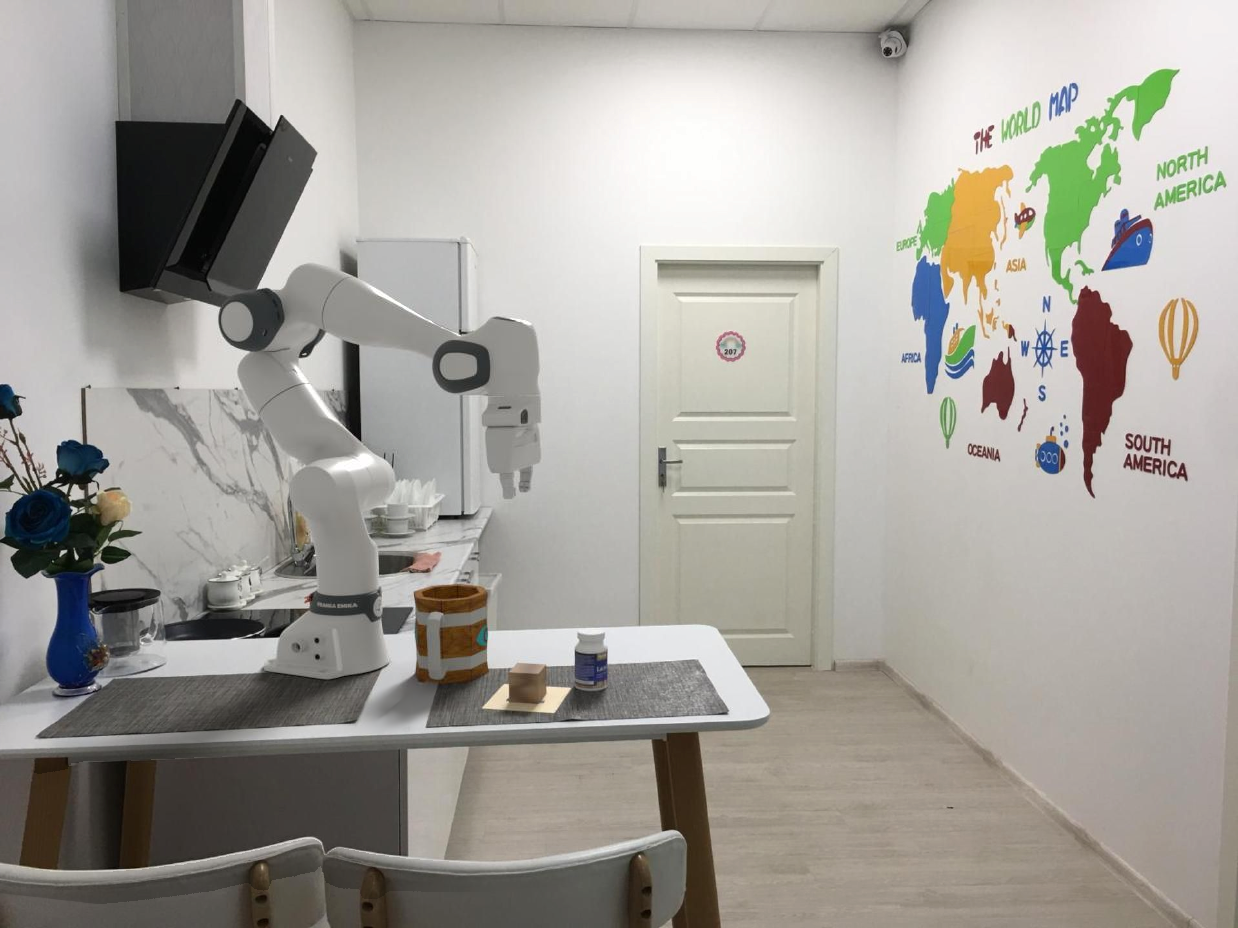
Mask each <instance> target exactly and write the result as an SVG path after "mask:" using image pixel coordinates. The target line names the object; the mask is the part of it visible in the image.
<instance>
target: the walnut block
mask: <svg viewBox="0 0 1238 928" xmlns="http://www.w3.org/2000/svg"><path fill="white" fill-rule="evenodd" d="M508 684H509V702H517V703H533V704H539V703H540V701H541V700H542V699H543V698H544V696H545V695H546V694H547V692H546V686H547V664H546V663H526V662H524V663H523V662H517V663H516V664H515V665H514V666H513V667H512V668H510V670H509V671H508Z"/></svg>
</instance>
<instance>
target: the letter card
mask: <svg viewBox="0 0 1238 928" xmlns="http://www.w3.org/2000/svg"><path fill="white" fill-rule="evenodd" d="M571 690H572V687H566V686H565V687H563V686H562V687H561V686H560V687H559V686H547V685H546V692H547V694H546V695H545V696H544V698H543V699H542V700H541V701H540V703H539V704H533V703H517V702H509V683H503V685H502V686H500V687H499V688H498V690H497V691H496V692H495V693H494V694H493V695H492V696H491V697H490V699H489V700H487V702H486V703H485V704H484V705H483V706H482V707H481V709H484V710H499V711H500V710H501V711H512V712H513V711H514V712H526V713H528V712H529V713H530V712H532V713H542V714H543V713H544V714H545V713H547V714H555V713H556V711H557V710H558V709H559V708H560V706H561V705H562V703H563V701H564V700H565V698H566V697H567V695H568V694H569V693H570V691H571Z"/></svg>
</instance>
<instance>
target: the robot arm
mask: <svg viewBox="0 0 1238 928" xmlns="http://www.w3.org/2000/svg"><path fill="white" fill-rule="evenodd" d="M217 316H218V317H217V319H218V320H217V323H218V328H219V330H220V333H221V335H222V337H223V338H224V340H225V341H226V342H227V343H228V344H229V345H230V346H231V347H234V348H236V349H238V350H241V351H246V352H247V354H245V356H243V357H242V359H240V361H239V363H238V365H237V370H236V371H237V376H238V377H237V378H238V379H239V382H240V385H241V387H242V389H243V391H244V393H245V396H246V397H247V400H248V401H249V402H250V405H251V406H252V407H253V409H254V411H255V412H256V414H257V416H258V418H259V419H260V420H261V421H262V423H263V424H264V425H265V427H266V429H267V431H268V432H269V433H270V434H271V435H272V437H273V439H274V440H275V441H276V443H277V444H278V446H279V447H280V449H281V450H282V451H283V452H284V453H286V454H287V455H289V456H290V457H292V458H295V459H296V460H298V461H299V462H300V463H302V464H303V465H304V467H302V468H301V469H299V470H298V471H297V472H296V473H295V474H294V475H293V477H292V478H291V481H290V484H289V498H290V499H289V500H290V502H291V505H292V507H293V508H294V509H295V511H296V512H297V513H298V514H299V515H300V516H301V517H302V518H303V519H304V521H305V523H306V524H307V527H308V530H309V533H310V535H311V539H312V543H313V547H314V553H315V554H314V555H315V566H316V590H314V591H313V592H311V593H309V594H308V595H307V596H305V597H303V599H305V600H304V602H303V603H304V604H307V603H309V607H308V610H307V611H306V612H305V613H303V614H302V615H301V616H300V617H298V618H297V619H296V620H295V621H293V622H292V623H291V624H289V626H287V627H286V628H285V629H284V630H283V631H282V632H281V634H280V636H279V638H278V641H277V647H276V653H275V654H273V655H272V656H270V657H269V658H267V659H266V660H265V661H264V665H263V670H264V671H266V672H271V673H280V674H286V675H293V676H298V677H299V676H301V677H307V678H313V679H314V678H315V679H320V680H332V679H337V678H340V677H344V676H350V675H358V674H363V673H367V672H372V671H375V670H378V669H380V668H383V667H385V666H386V665H388V664H389V663H390V661H391V657H390V654H389V652H388V649H387V645H386V642H385V641H386V640H385V636H384V630H383V625H382V624H383V623H382V617H383V591H382V590H383V589H382V587H381V586H380V574H379V573H380V571H379V570H380V567H379V548H378V545H377V543H376V542H375V541H374V540H373V539H372V537H371V536H370V534H369V532H368V529H367V528H368V527H367V525H366V521H365V517H364V512H367V511H368V512H369V511H371V510H374V509H376V508H377V507H379V506H380V505H382V504H384V502H386V501H388V499H389V498H390V497H391V496H392V495H393V493H394V491H395V488H396V482H397V481H396V473H395V470H394V468H393V467H392V464H390V463H389V462H388V461H387V460H386V459H385V458H383V457H382V456H379V455H377V454H376V453H374V452H373V451H371V449H368V447H366V445H365V444H363V443H362V441H360V440H359V439H358V438H357V437H356V436H354V434H352V432H350V431H349V429H347V428H346V427H345V426H344V425H343V424H342V423H341V422H340V421H339V419H338V418H337V417H336V416H335V415H334V413H333V412H332V411H331V409H330V408H329V407H328V405H327V403H325V400H323V398H322V397H321V396H320V394H319V393H318V391H317V390H316V389H315V387H314V385H312V383H311V381H309V379H308V378H307V376H306V375H305V373H304V371H303V370H302V369H301V367H300V363H299V359H305V358H308V357H309V356H311V354H312V353H313V351H314V349H315V347H316V346H317V345H318V344H319V343H320V342H321V341H322V340H323V338H324V337H325V336H326V333H328V334H329V335H331V336H333V337H335V338H338V339H339V340H342V341H345V342H348V343H351V344H355V345H359V346H363V347H368V348H369V347H370V348H371V347H372V348H383V349H394V350H404V351H408V352H409V351H410V352H412V353H417V354H419V355H421V356H423V357H426V358H428V359H430V360H432V363H431V369H432V374H433V375H432V376H433V377H434V380H435V382H436V384H437V385H438V387H440V388H441V389H442V390H443V391H445V392H447V393H450V394H453V395H456V396H457V395H458V396H486V397H487V407H486V408H485V410H484V411H483V412H482V414H481V426H482V427H484V428H486V429H485V432H484V437H485V439H484V441H485V453H486V454H485V455H486V461H487V466H488V469H489V472H490V473H491V474H499V475H498V476H499V477H498V478H499V482H500V485H501V489H502V497H503V499H504V500H513V499H514V498H516V497H517V496H516V495H517V494H516V493H517V492H516V491H517V490H516V489H517V488H516V487H515V482H514V478H515V472H516V471H518V472H519V481H518V491H519V492H520V493H529V492H531V490H532V477H533V473H534V470H533V469H534V467H533V466H534V465H538V464H539V463H540V462H541V458H542V450H541V449H542V448H541V436H540V429H539V428H540V427H539V424H541V423H542V407H541V406H542V403H541V402H542V401H541V399H542V398H541V390H540V388H539V381H538V379H539V373H540V369H541V367H540V354H539V353H540V352H539V342H538V338H537V337H538V336H537V332H536V328H535V327H534V325H532V323H530V322H529V321H528V320H523V319H519V318H512V317H506V316H493V317H490V318H488V320H487V321H486V322H485V323H484V324H483V325H481V326H480V327H478V328H477V329H475V330H473V331H471V332H469V333H467V334H464V335H462V334H460V333H457V332H455V331H453V330H451V329H449V328H447V327H445V326H442V325H440V324H438V323H436V322H434V321H431V320H430V319H427V318H425V317H423V316H422V315H419V313H417V312H414V311H413V310H412V309H410V308H408V307H407V306H405V305H403V304H402V303H401V302H399V301H396V300H395V299H393V298H392V297H390V296H389V295H387V294H386V293H384V292H382V291H381V290H379V288H376V287H374V286H373V285H371V284H370V283H368V282H366V281H364V280H362V279H360V278H358V277H356V276H354V275H351V274H349V273H346V272H345V271H341V269H340V270H339V269H337V268H334V267H330V266H327V265H323V264H319V263H314V262H306V263H303V264H300V265H298V266H297V267H296V268H295V269H294V270H292V271H291V273H290V274H289V275H288V277H287V279H286V282H285V285H284V286H283V287H282V288H280V289H271V288H269V287H264V288H258V289H249V290H245V291H240V292H238V293H237V292H236V293H235V294H233V295H230V296H228V297H227V298H226V299H225V300H224V301H223V303H222V304H221V306H220V309H219V311H218V315H217Z"/></svg>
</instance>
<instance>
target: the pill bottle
mask: <svg viewBox="0 0 1238 928" xmlns="http://www.w3.org/2000/svg"><path fill="white" fill-rule="evenodd" d="M576 637H577V639H578V642H577V643H576V644H575V646H574V687H575V688H576V689H577V690H581V691H585V692H586V691H587V692H594V691H595V692H596V691H602V690H603V689H606V688H607V687H608V677H609V676H608V667H609V666H608V665H609V663H608V657H609V656H608V655H609V654H608V651H609V650H608V645H607V643H606V642H604V641H605V638H606V632H605V630H604V629H601V628H598V627H597V628H596V627H585V628H579V630H577V636H576Z"/></svg>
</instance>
